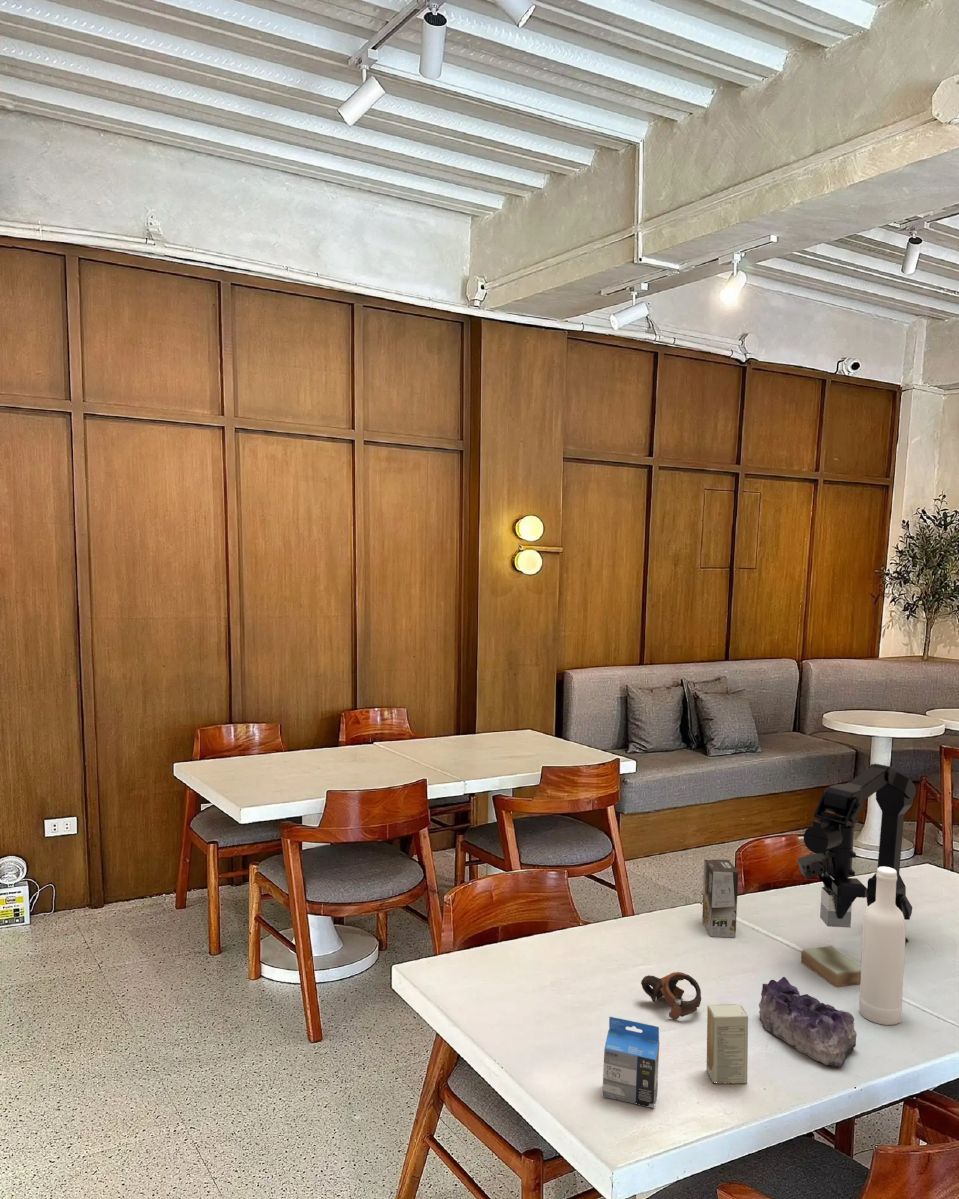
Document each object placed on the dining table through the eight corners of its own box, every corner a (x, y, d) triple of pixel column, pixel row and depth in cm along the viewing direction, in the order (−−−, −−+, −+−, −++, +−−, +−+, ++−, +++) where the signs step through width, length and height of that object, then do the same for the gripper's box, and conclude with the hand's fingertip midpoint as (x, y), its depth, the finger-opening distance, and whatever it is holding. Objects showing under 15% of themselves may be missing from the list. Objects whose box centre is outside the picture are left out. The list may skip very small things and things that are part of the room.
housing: (820, 917, 200) (821, 885, 200) (842, 918, 200) (844, 886, 200) (827, 926, 196) (829, 894, 195) (850, 927, 195) (852, 895, 195)
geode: (738, 1026, 173) (742, 974, 174) (775, 1017, 180) (779, 967, 180) (830, 1073, 157) (835, 1016, 157) (867, 1062, 163) (872, 1007, 164)
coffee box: (736, 937, 213) (739, 872, 212) (710, 937, 213) (712, 871, 212) (727, 922, 222) (729, 858, 221) (701, 921, 222) (703, 858, 221)
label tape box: (601, 1097, 149) (603, 1026, 149) (606, 1084, 153) (608, 1015, 152) (653, 1110, 146) (656, 1038, 145) (658, 1096, 150) (660, 1025, 149)
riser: (830, 958, 203) (831, 945, 203) (867, 983, 192) (868, 969, 191) (801, 962, 201) (801, 949, 201) (836, 987, 189) (836, 973, 189)
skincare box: (739, 1069, 158) (742, 1003, 157) (747, 1084, 154) (750, 1016, 153) (704, 1069, 158) (706, 1003, 157) (711, 1084, 154) (713, 1016, 153)
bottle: (883, 1029, 173) (890, 878, 171) (849, 1010, 180) (856, 865, 178) (910, 1020, 176) (917, 872, 175) (876, 1002, 183) (883, 860, 182)
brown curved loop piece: (695, 999, 184) (706, 975, 180) (690, 1040, 176) (703, 1016, 172) (638, 978, 186) (648, 954, 182) (632, 1018, 178) (642, 993, 174)
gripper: (789, 830, 207) (786, 895, 207) (816, 857, 188) (812, 929, 189) (838, 832, 206) (834, 898, 207) (869, 859, 188) (865, 931, 188)
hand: (835, 913), depth 198 cm, fingers closed on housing, 5 cm apart
